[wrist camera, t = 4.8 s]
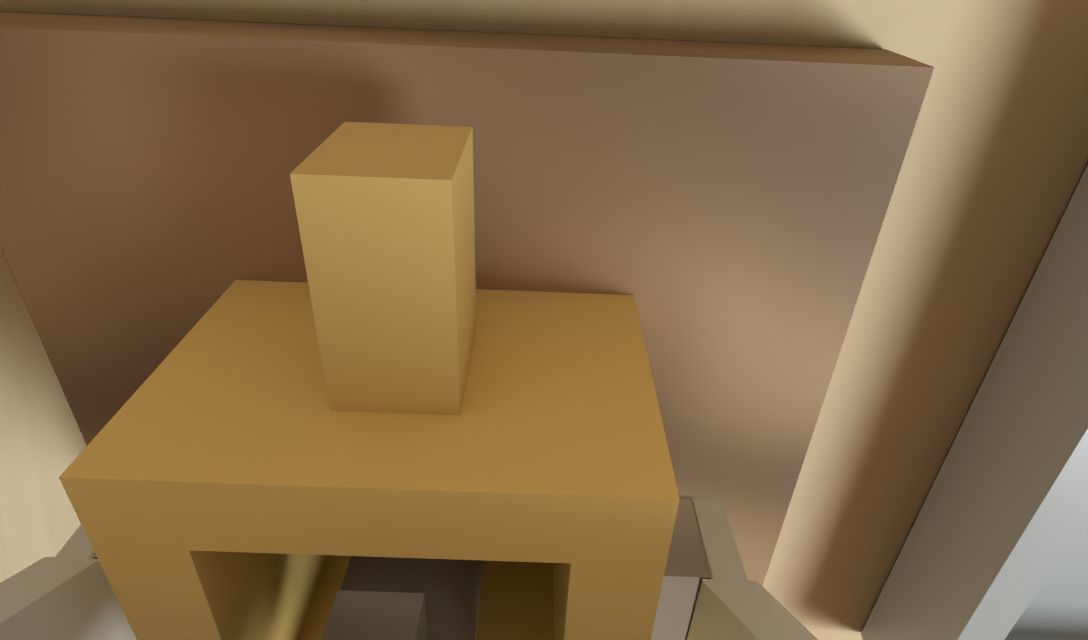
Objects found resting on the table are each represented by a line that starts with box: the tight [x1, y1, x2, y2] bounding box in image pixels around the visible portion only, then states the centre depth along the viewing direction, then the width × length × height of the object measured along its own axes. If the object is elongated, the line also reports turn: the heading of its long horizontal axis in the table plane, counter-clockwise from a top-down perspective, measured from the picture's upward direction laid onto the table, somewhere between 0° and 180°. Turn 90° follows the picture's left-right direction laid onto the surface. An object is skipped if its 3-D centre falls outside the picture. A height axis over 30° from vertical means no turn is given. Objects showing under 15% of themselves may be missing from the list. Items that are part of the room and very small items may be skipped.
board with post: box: [0, 11, 934, 640], centre depth 11 cm, size 14×14×7 cm
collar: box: [59, 122, 680, 640], centre depth 10 cm, size 10×7×4 cm
